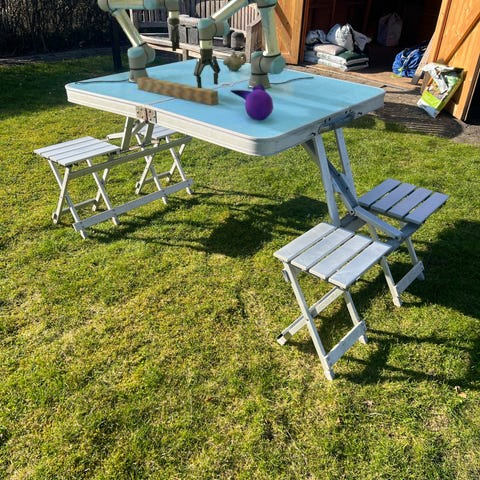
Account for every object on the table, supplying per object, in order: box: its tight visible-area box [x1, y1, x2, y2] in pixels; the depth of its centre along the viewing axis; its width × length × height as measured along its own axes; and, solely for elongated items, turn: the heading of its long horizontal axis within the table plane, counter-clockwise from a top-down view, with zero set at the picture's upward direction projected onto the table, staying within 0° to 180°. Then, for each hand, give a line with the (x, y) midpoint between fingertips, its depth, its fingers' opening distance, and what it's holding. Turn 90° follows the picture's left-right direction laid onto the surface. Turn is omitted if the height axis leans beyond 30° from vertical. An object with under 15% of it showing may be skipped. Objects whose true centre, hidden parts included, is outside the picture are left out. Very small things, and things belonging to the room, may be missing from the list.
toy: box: [230, 85, 274, 121], centre depth 242 cm, size 16×18×27 cm
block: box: [136, 77, 219, 106], centre depth 293 cm, size 74×6×8 cm, turn 47°
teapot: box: [222, 51, 247, 72], centre depth 365 cm, size 21×12×15 cm, turn 120°
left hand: (176, 49), depth 333 cm, fingers open, 13 cm apart
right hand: (207, 86), depth 271 cm, fingers open, 13 cm apart
